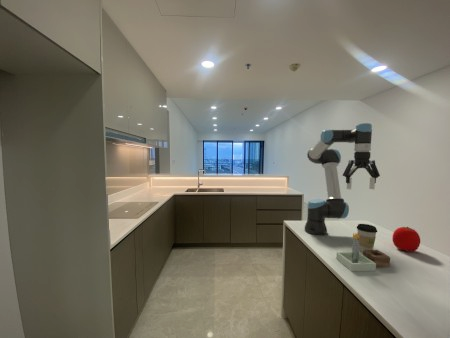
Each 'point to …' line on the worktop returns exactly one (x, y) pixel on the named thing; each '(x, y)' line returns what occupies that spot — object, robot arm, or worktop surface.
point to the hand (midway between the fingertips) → (360, 189)
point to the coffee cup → (366, 236)
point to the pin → (355, 248)
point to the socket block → (377, 258)
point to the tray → (362, 264)
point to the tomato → (406, 239)
